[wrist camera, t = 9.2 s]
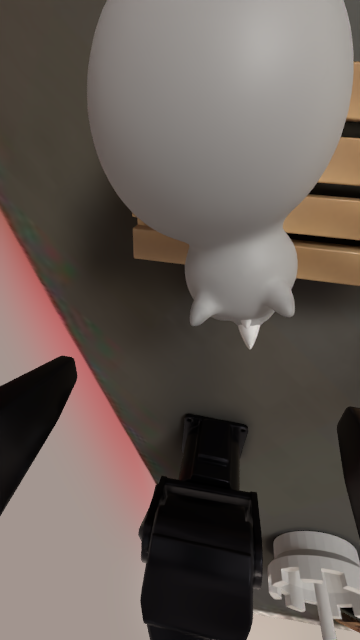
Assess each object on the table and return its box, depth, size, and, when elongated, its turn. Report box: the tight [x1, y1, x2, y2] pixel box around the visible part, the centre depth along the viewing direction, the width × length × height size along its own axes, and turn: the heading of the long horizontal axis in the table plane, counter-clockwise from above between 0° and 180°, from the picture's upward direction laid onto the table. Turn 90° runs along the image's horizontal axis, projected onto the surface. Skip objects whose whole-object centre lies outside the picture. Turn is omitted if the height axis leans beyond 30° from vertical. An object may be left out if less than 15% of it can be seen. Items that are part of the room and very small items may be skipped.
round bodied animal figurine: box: [87, 0, 354, 349], centre depth 10 cm, size 7×12×8 cm, turn 14°
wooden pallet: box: [132, 62, 360, 286], centre depth 15 cm, size 9×18×4 cm, turn 87°
